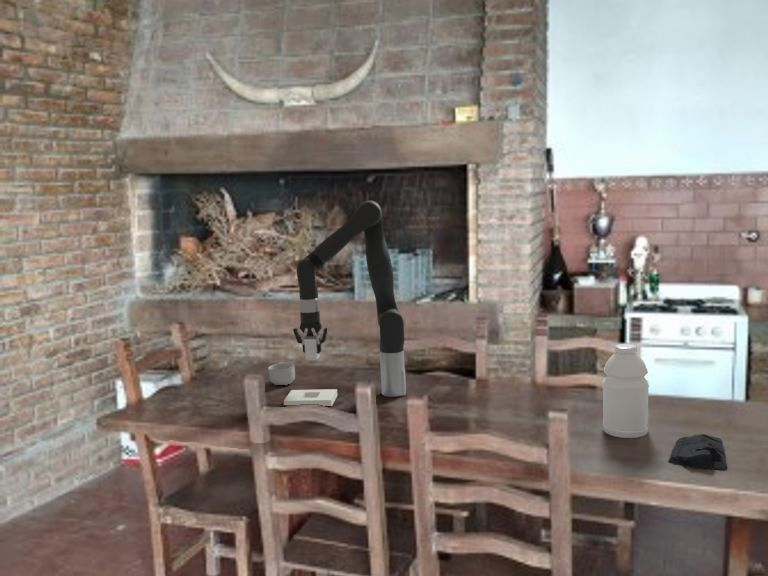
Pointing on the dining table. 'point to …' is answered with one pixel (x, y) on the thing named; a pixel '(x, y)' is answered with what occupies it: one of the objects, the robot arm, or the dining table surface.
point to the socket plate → (311, 397)
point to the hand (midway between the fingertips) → (312, 353)
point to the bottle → (625, 394)
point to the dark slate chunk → (699, 452)
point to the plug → (311, 348)
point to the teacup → (282, 373)
